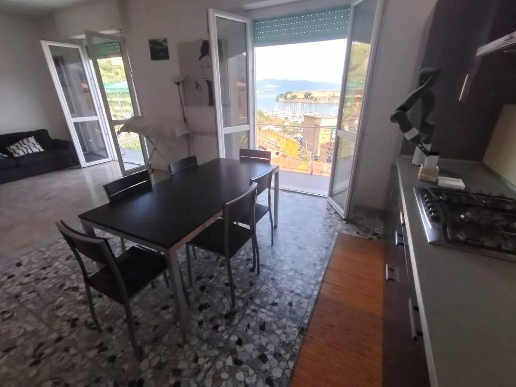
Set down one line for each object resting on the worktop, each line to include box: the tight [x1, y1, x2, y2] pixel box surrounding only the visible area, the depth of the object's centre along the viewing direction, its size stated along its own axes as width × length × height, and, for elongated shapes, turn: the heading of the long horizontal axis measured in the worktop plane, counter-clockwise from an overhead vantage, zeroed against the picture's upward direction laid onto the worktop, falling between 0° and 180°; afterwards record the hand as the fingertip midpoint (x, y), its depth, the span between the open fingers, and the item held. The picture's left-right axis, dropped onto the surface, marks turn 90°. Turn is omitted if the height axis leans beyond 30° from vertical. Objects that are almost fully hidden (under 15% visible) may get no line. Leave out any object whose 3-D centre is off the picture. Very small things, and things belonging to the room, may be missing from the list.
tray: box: [436, 175, 466, 191], centre depth 149 cm, size 14×13×2 cm
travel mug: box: [424, 149, 442, 170], centre depth 156 cm, size 6×7×20 cm
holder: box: [417, 164, 440, 183], centre depth 159 cm, size 11×10×8 cm
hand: (428, 154), depth 155 cm, fingers open, 8 cm apart
